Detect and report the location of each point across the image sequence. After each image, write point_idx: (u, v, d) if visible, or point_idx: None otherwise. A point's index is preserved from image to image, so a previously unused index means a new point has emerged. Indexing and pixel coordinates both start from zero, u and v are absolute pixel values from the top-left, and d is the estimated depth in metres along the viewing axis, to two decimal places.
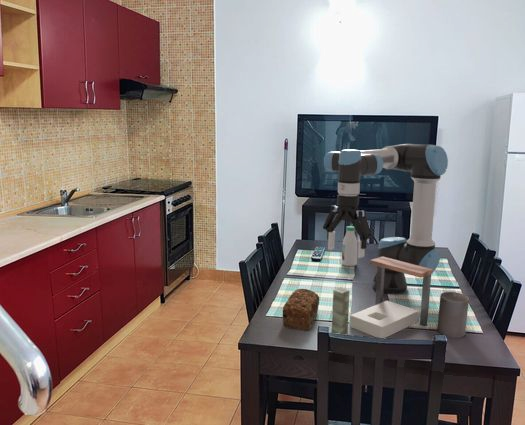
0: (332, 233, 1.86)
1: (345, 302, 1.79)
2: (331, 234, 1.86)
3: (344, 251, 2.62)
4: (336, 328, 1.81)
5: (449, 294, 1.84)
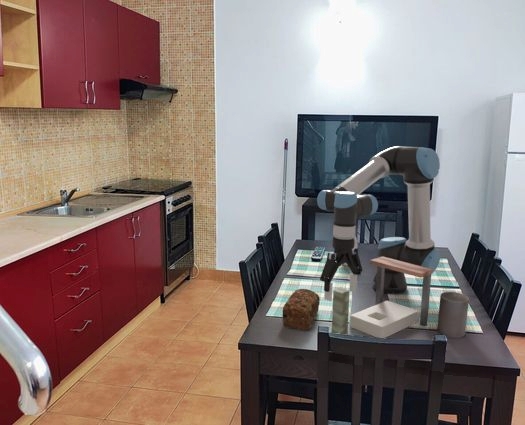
0: (353, 275, 1.83)
1: (345, 302, 1.79)
2: (351, 276, 1.84)
3: None
4: (336, 328, 1.81)
5: (449, 294, 1.84)
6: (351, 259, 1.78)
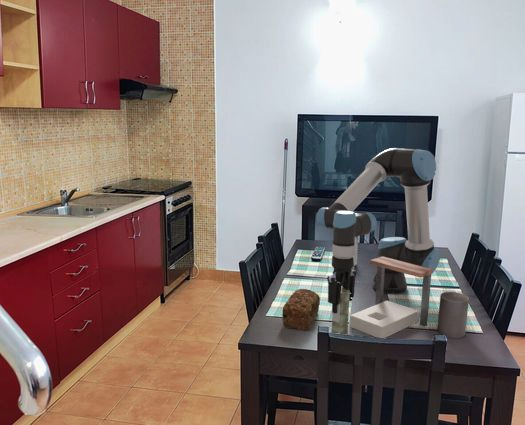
0: None
1: (345, 302, 1.79)
2: None
3: None
4: (336, 328, 1.81)
5: (449, 294, 1.84)
6: (348, 279, 1.79)
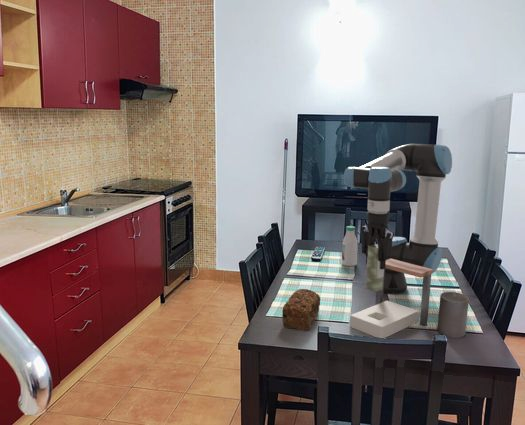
0: None
1: None
2: None
3: (344, 251, 2.62)
4: (378, 284, 1.83)
5: (449, 294, 1.84)
6: None
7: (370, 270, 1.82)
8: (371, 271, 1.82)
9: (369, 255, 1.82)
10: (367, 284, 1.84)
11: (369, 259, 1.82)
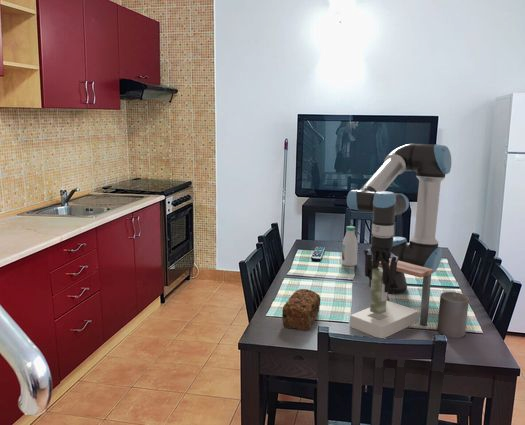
0: None
1: None
2: None
3: (344, 251, 2.62)
4: (383, 307, 1.85)
5: (449, 294, 1.84)
6: None
7: (375, 294, 1.84)
8: (375, 294, 1.84)
9: (373, 278, 1.84)
10: (371, 307, 1.86)
11: (373, 282, 1.84)
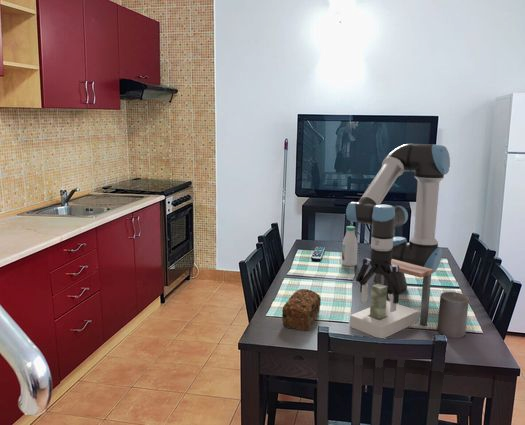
0: (365, 286, 1.89)
1: None
2: (364, 287, 1.89)
3: (344, 251, 2.62)
4: None
5: (449, 294, 1.84)
6: None
7: (374, 310, 1.85)
8: (374, 310, 1.85)
9: (372, 295, 1.85)
10: None
11: (372, 299, 1.85)
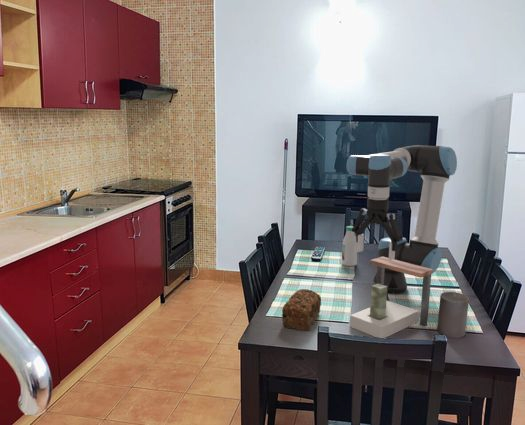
0: (361, 236, 1.91)
1: None
2: (360, 237, 1.90)
3: (344, 251, 2.62)
4: None
5: (449, 294, 1.84)
6: None
7: (374, 310, 1.85)
8: (374, 310, 1.85)
9: (372, 295, 1.85)
10: None
11: (372, 299, 1.85)
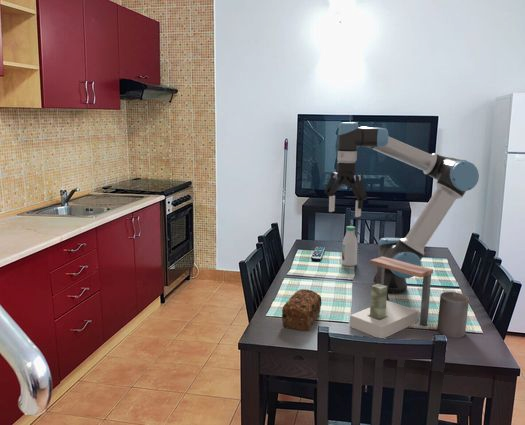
0: (332, 197, 2.12)
1: None
2: (331, 198, 2.12)
3: (344, 251, 2.62)
4: None
5: (449, 294, 1.84)
6: None
7: (374, 310, 1.85)
8: (374, 310, 1.85)
9: (372, 295, 1.85)
10: None
11: (372, 299, 1.85)
